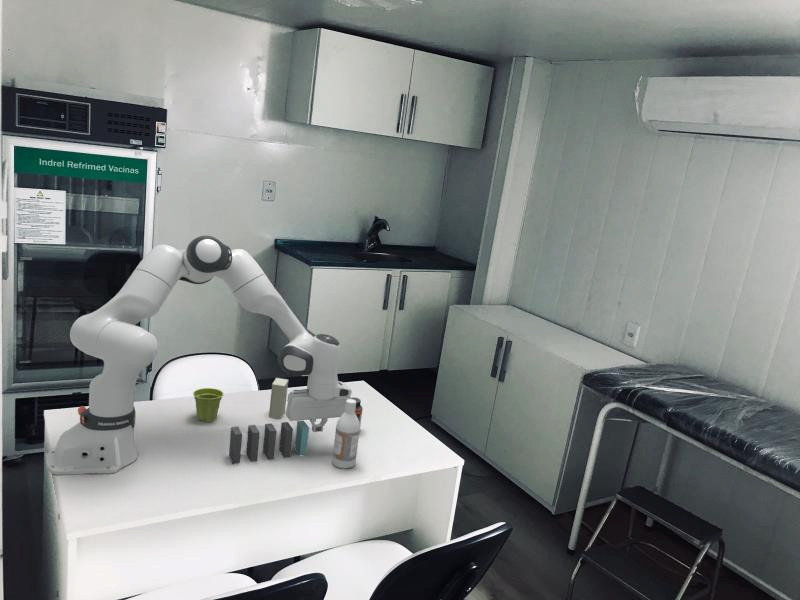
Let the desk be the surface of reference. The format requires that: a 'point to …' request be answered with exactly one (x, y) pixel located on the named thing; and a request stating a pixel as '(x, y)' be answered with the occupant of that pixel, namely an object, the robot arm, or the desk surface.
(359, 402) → the supplement bottle
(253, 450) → the domino
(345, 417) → the bath foam
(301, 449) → the domino
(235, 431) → the domino
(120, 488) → the desk surface
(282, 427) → the domino
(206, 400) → the plant pot
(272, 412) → the skincare box
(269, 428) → the domino
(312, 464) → the desk surface
